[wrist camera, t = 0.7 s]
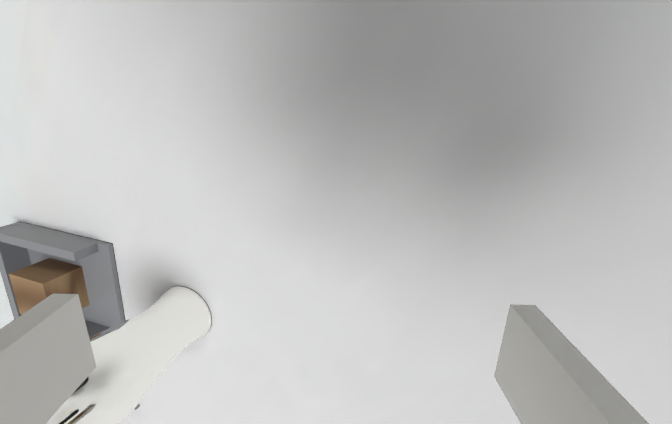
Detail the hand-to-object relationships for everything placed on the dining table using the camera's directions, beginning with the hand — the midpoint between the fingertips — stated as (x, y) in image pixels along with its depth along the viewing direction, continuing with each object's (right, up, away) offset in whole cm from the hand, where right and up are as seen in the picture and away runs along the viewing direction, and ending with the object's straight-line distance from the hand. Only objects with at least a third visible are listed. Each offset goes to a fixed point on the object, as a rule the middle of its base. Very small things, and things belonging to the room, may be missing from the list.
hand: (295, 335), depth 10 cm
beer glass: (-14, -7, +25) cm, 29 cm away
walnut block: (-30, -4, +29) cm, 41 cm away
